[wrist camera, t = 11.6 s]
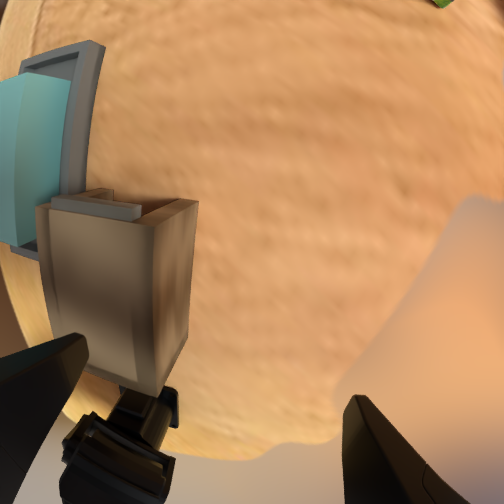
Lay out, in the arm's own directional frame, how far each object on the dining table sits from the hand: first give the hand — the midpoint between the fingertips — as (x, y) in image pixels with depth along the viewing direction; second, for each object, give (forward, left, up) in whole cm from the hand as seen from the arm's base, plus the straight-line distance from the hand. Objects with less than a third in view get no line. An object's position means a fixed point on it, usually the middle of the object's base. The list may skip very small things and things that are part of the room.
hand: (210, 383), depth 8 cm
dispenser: (-3, +8, -12) cm, 15 cm away
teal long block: (+5, +18, -11) cm, 22 cm away
